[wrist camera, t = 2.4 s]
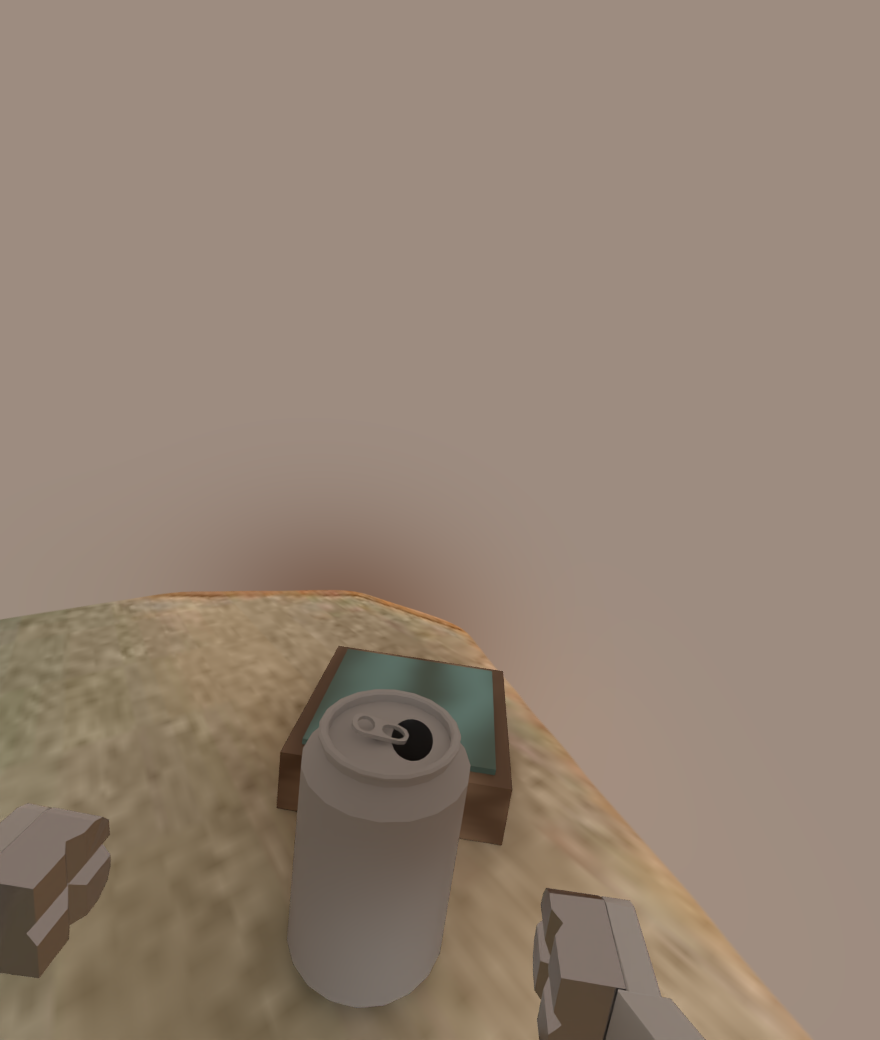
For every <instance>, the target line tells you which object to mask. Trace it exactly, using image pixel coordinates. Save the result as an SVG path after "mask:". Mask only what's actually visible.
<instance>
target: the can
mask: <svg viewBox="0 0 880 1040" xmlns="http://www.w3.org/2000/svg"><path fill="white" fill-rule="evenodd" d="M460 741H461V734H460V731H459V728H458V725H457V722H456V721H455V720H454V719H453V718H452V717H451V715H450V714H449V713H448V712H447V711H446V710H445V709H444V708H442V707H441V706H439V705H438V704H436V703H435V702H433V701H432V700H430V699H427V698H425V697H422V696H420V695H417V694H415V693H410V692H405V691H400V690H389V689H374V690H368V691H362V692H357V693H354V694H352V695H349V696H347V697H344V698H342V699H340V700H338V701H337V702H336V703H334V704H333V705H332V706H330V707H329V708H328V709H327V710H326V712H325V713H324V715H323V717H322V718H321V720H320V721H319V728H318V729H316V730H315V731H314V732H313V733H312V734H311V736H310V737H309V739H308V741H307V742H306V744H305V746H304V747H303V752H302V761H301V772H300V785H299V797H298V810H297V822H296V835H295V847H294V859H293V872H292V884H291V897H290V909H289V922H288V934H287V942H288V946H289V950H290V954H291V958H292V962H293V965H294V966H295V968H296V969H297V971H298V972H299V974H300V975H301V976H302V978H303V979H304V981H305V982H306V984H307V985H308V986H309V987H311V988H312V989H313V990H315V991H316V992H318V993H319V994H320V995H322V996H323V997H325V998H326V999H328V1000H329V1001H332V1002H336V1003H339V1004H343V1005H347V1006H351V1007H355V1008H362V1007H373V1006H384V1005H386V1004H389V1003H391V1002H393V1001H395V1000H397V999H399V998H402V997H404V996H406V995H408V994H410V993H411V992H412V991H413V990H414V989H415V988H416V987H417V986H418V985H419V984H420V983H421V982H422V981H423V980H424V979H425V978H426V977H427V976H428V975H429V973H430V971H431V969H432V967H433V965H434V963H435V962H436V960H437V958H438V956H439V954H440V949H441V943H442V937H443V931H444V925H445V919H446V913H447V907H448V901H449V895H450V889H451V883H452V877H453V871H454V865H455V859H456V853H457V847H458V841H459V835H460V829H461V823H462V817H463V811H464V805H465V799H466V793H467V787H468V781H469V773H470V766H471V765H470V762H469V759H468V756H467V753H466V750H465V748H464V747H463V745H462V744H461V743H460Z"/></svg>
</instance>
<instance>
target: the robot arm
mask: <svg viewBox="0 0 880 1040" xmlns="http://www.w3.org/2000/svg"><path fill="white" fill-rule="evenodd" d="M109 835H110V828H109V820H108V819H106V818H104V817H101V816H95V815H90V814H85V813H80V812H75V811H69V810H64V809H59V808H54V807H53V808H51V807H46V806H40V805H35V804H30V803H27V804H25V805H22V806H20V807H18V808H16V809H15V810H14V811H13V812H12V813H11V814H10V815H9V816H7V817H6V818H5V819H4V820H3V821H2V822H1V823H0V973H5V974H12V975H19V976H26V977H34V978H40V976H41V975H42V974H43V973H44V971H45V970H46V969H47V967H48V966H49V965H50V963H51V962H52V961H53V959H54V958H55V957H56V955H57V954H58V953H59V951H60V950H61V949H62V948H63V946H64V945H65V944H66V942H67V941H68V940H69V928H70V925H71V924H72V923H74V922H76V921H77V920H79V919H81V918H82V917H84V916H86V915H87V914H88V913H89V912H90V910H91V909H92V907H93V906H94V905H95V903H96V902H97V901H98V899H99V897H100V895H101V893H102V891H103V889H104V887H105V884H106V882H107V880H108V876H109V871H110V866H111V858H110V853H109V852H108V851H107V849H106V848H105V846H104V845H103V842H104V841H105V840H106V839H107V838H108V836H109ZM541 910H542V921H541V922H540V923H539V924H537V927H536V933H535V938H534V950H533V977H534V990H535V992H536V993H537V995H538V996H539V998H540V999H541V1003H540V1008H539V1013H538V1018H537V1023H538V1033H539V1040H705V1039H704V1037H703V1036H702V1035H701V1034H700V1033H699V1031H698V1030H697V1029H696V1028H695V1027H694V1026H693V1024H692V1023H691V1022H690V1021H689V1020H688V1019H687V1017H686V1016H685V1015H684V1014H683V1013H682V1011H681V1010H680V1009H679V1008H678V1007H677V1006H676V1004H675V1003H674V1002H673V1001H672V1000H671V999H670V998H665V997H661V993H660V990H659V987H658V983H657V980H656V977H655V974H654V970H653V967H652V964H651V960H650V957H649V954H648V951H647V947H646V944H645V941H644V937H643V934H642V931H641V928H640V924H639V921H638V918H637V914H636V911H635V908H634V906H633V904H632V903H631V902H630V900H623V899H616V898H610V897H603V896H602V897H600V896H597V895H590V894H584V893H577V892H570V891H564V890H557V889H550V888H546V889H545V891H544V893H543V897H542V902H541Z"/></svg>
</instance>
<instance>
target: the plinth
mask: <svg viewBox="0 0 880 1040" xmlns="http://www.w3.org/2000/svg"><path fill="white" fill-rule="evenodd" d="M374 689H389V690H400V691H405V692H410V693H415V694H417V695H420V696H422V697H425V698H427V699H430V700H432V701H433V702H435V703H436V704H438V705H439V706H441V707H442V708H444V709H445V710H446V711H447V712H448V713H449V714H450V715H451V717H452V718H453V719H454V720H455V721H456V722H457V725H458V728H459V731H460V734H461V741H460V743H461V744H462V745H463V747H464V748H465V750H466V753H467V756H468V759H469V762H470V765H471V766H470V773H469V781H468V787H467V793H466V799H465V805H464V811H463V817H462V823H461V829H460V835H459V838H462V839H468V840H474V841H480V842H486V843H492V844H498V845H502V841H503V836H504V830H505V825H506V820H507V815H508V809H509V804H510V799H511V794H512V780H511V767H510V755H509V742H508V729H507V717H506V704H505V691H504V678H503V671H498V670H491V669H485V668H478V667H472V666H465V665H459V664H452V663H446V662H439V661H433V660H426V659H420V658H414V657H407V656H401V655H394V654H388V653H381V652H375V651H368V650H362V649H355V648H349V647H342V646H339V647H338V648H337V650H336V652H335V654H334V656H333V657H332V659H331V661H330V663H329V665H328V667H327V668H326V670H325V672H324V674H323V676H322V677H321V679H320V681H319V683H318V685H317V687H316V688H315V690H314V692H313V694H312V696H311V697H310V699H309V701H308V703H307V705H306V707H305V708H304V710H303V712H302V714H301V716H300V718H299V719H298V721H297V723H296V725H295V727H294V728H293V730H292V732H291V734H290V736H289V738H288V739H287V741H286V743H285V745H284V747H283V748H282V750H281V753H280V767H279V782H278V796H277V808H282V809H288V810H294V811H297V810H298V797H299V785H300V772H301V761H302V752H303V747H304V746H305V744H306V742H307V741H308V739H309V737H310V736H311V734H312V733H313V732H314V731H315V730H316V729H318V728H319V721H320V720H321V718H322V717H323V715H324V713H325V712H326V710H327V709H328V708H329V707H330V706H332V705H333V704H334V703H336V702H337V701H338V700H340V699H342V698H344V697H347V696H349V695H352V694H354V693H357V692H362V691H368V690H374Z"/></svg>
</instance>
